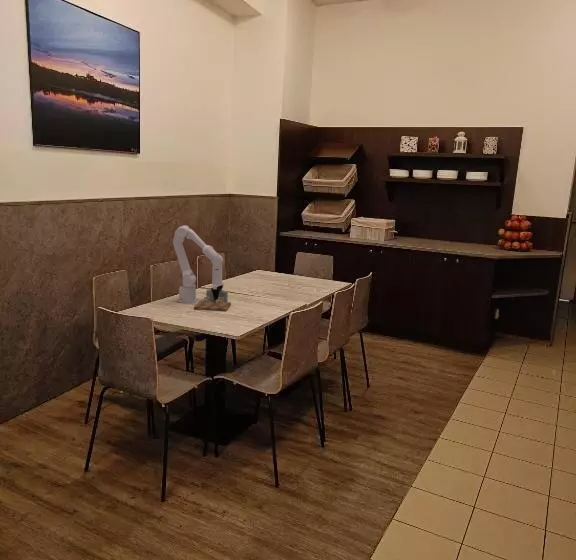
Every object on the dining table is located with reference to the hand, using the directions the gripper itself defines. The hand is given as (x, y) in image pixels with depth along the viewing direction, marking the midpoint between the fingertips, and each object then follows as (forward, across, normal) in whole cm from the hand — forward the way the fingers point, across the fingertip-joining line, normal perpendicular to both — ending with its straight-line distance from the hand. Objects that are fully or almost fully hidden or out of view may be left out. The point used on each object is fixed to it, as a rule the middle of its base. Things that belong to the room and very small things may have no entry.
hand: (217, 298), depth 294 cm
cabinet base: (+2, -12, 0) cm, 12 cm away
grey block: (+2, 0, 0) cm, 2 cm away
